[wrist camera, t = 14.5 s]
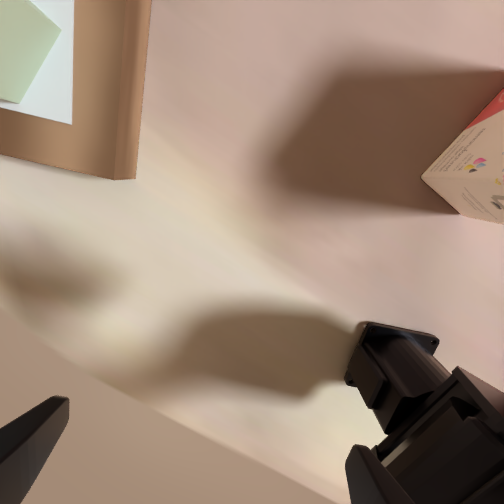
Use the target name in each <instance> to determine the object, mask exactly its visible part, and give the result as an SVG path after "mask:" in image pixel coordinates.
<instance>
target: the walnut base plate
mask: <svg viewBox="0 0 504 504" xmlns="http://www.w3.org/2000/svg"><path fill="white" fill-rule="evenodd" d="M30 1H31V2H32V3H33V4H34V5H35V6H36V7H38V8H39V9H40V10H41V11H42V12H43V13H44V14H45V15H46V16H47V17H48V18H49V19H50V20H52V21H53V22H54V23H55V24H56V25H57V26H58V27H59V28H60V29H61V30H62V31H61V33H60V34H59V36H58V38H57V40H56V41H55V43H54V45H53V47H52V48H51V50H50V52H49V54H48V55H47V57H46V59H45V60H44V62H43V64H42V66H41V67H40V69H39V71H38V73H37V74H36V76H35V78H34V80H33V81H32V83H31V85H30V86H29V88H28V90H27V92H26V93H25V95H24V97H23V99H22V100H21V102H20V104H18V103H15V102H11V101H8V100H5V99H1V98H0V154H3V155H7V156H11V157H16V158H20V159H24V160H29V161H33V162H37V163H42V164H46V165H50V166H55V167H59V168H63V169H68V170H72V171H77V172H81V173H85V174H90V175H94V176H98V177H103V178H107V179H111V180H124V179H135V178H136V167H137V156H138V145H139V134H140V123H141V112H142V101H143V90H144V79H145V68H146V57H147V46H148V35H149V24H150V13H151V2H152V0H30Z"/></svg>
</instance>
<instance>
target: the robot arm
mask: <svg viewBox="0 0 504 504" xmlns="http://www.w3.org/2000/svg"><path fill="white" fill-rule="evenodd" d="M372 328H374V329H373V330H371V329H372ZM431 341H432V342H431ZM439 342H440V341H439V339H438V338H437V337H436V336H434V335H431V334H426V333H421V332H416V331H411V330H406V329H401V328H397V327H392V326H387V325H382V324H377V323H369V324H367V325H366V327H365V329H364V332H363V334H362V336H361V339H360V341H359V344H358V345H357V346H356V349H355V351H354V353H353V356H352V358H351V361H350V363H349V365H348V370H347V372H346V375H345V377H344V381H345V383H346V384H347V385H348V386H352V387H357V388H358V390H359V392H360V394H361V396H362V398H363V400H364V402H365V404H366V406H367V407H368V408H369V409H372V410H373V412H374V414H375V416H376V418H377V420H378V422H379V424H380V425H381V427H382V429H383V431H384V433H385V434H387V435H388V436H387V437H386V438H385V439H384V440H383V441H382V442H381V443H380V444H379V445H378V446H377V445H375V446H374V447H373V448H372V449H371V450H370V449H369V448H368V447H366V446H363V445H357V444H355V445H353V447H352V449H351V451H350V453H349V455H348V457H347V459H346V463H345V471H346V476H347V482H348V488H349V494H350V499H351V504H504V393H503V392H501V391H500V390H498V389H496V388H494V387H493V386H491V385H489V384H488V383H486V382H484V381H483V380H481V379H479V378H477V377H476V376H474V375H472V374H471V373H469V372H467V371H466V370H464V369H462V368H460V367H459V366H457V367H456V368H455V369H454V370H453V371H452V374H450V373H449V372H448V371H447V370H446V369H445V368H444V367H443V365H442V364H441V363H440V362H439V361H438V360H437V359H436V358H435V357H434V356H433V354H434V352H435V350H436V348H437V347H438V345H439ZM351 379H352V380H351ZM68 419H69V398H67V397H64V396H52V397H50V398H49V399H47V400H45V401H44V402H42V403H40V404H39V405H37V406H36V407H34V408H32V409H31V410H29V411H28V412H26V413H24V414H23V415H21V416H20V417H18V418H16V419H15V420H13V421H11V422H10V423H8V424H7V425H5V426H4V427H2V428H0V504H20V503H21V502H22V500H23V499H24V497H25V496H26V494H27V493H28V491H29V490H30V488H31V486H32V485H33V483H34V481H35V480H36V478H37V476H38V474H39V473H40V471H41V469H42V467H43V466H44V464H45V462H46V460H47V458H48V457H49V455H50V453H51V452H52V450H53V448H54V446H55V444H56V443H57V441H58V439H59V437H60V436H61V434H62V432H63V430H64V429H65V427H66V425H67V423H68Z"/></svg>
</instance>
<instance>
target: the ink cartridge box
mask: <svg viewBox="0 0 504 504" xmlns="http://www.w3.org/2000/svg"><path fill="white" fill-rule="evenodd" d="M421 179H422V180H423V181H424V182H425V183H427V184H428V185H429V186H430V187H431V188H432V189H433V190H435V191H436V192H437V193H438V194H439V195H440V196H441V197H442V198H444V199H445V200H446V201H447V202H448V203H449V204H450V205H451V206H452V207H453V208H455V209H456V210H457V211H458V212H459V213H460V214H461V215H463V216H466V217H470V218H475V219H480V220H485V221H489V222H494V223H499V224H504V88H503V89H502V90H501V91H500V93H499V94H498V95H497V96H496V97H495V98H494V99H493V100H492V101H491V102H490V103H489V104H488V105H487V106H486V107H485V108H484V109H483V110H482V112H481V113H480V114H479V115H478V116H477V117H476V118H475V119H474V120H473V121H472V122H471V123H470V124H469V125H468V127H467V128H466V129H465V130H464V131H463V132H462V133H461V134H460V135H459V136H458V137H457V138H456V139H455V140H454V141H453V143H452V144H451V145H450V146H449V147H448V148H447V149H446V150H445V151H444V152H443V153H442V154H441V155H440V156H439V157H438V158H437V159H436V161H435V162H434V163H433V164H432V165H431V166H430V167H429V168H428V169H427V170H426V171H425V172H424V173H423V175H422V176H421Z"/></svg>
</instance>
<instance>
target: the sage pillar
mask: <svg viewBox="0 0 504 504" xmlns="http://www.w3.org/2000/svg"><path fill="white" fill-rule="evenodd" d="M61 31H62V30H61V29H60V28H59V27H58V26H57V25H56V24H55V23H54V22H53V21H52V20H50V19H49V18H48V17H47V16H46V15H45V14H44V13H43V12H42V11H41V10H40V9H39V8H38V7H36V6H35V5H34V4H33V3H32V2H31V1H30V0H0V98H1V99H5V100H8V101H11V102H15V103H18V104H20V102H21V100H22V99H23V97H24V95H25V93H26V92H27V90H28V88H29V86H30V85H31V83H32V81H33V80H34V78H35V76H36V74H37V73H38V71H39V69H40V67H41V66H42V64H43V62H44V60H45V59H46V57H47V55H48V54H49V52H50V50H51V48H52V47H53V45H54V43H55V41H56V40H57V38H58V36H59V34H60V33H61Z"/></svg>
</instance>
